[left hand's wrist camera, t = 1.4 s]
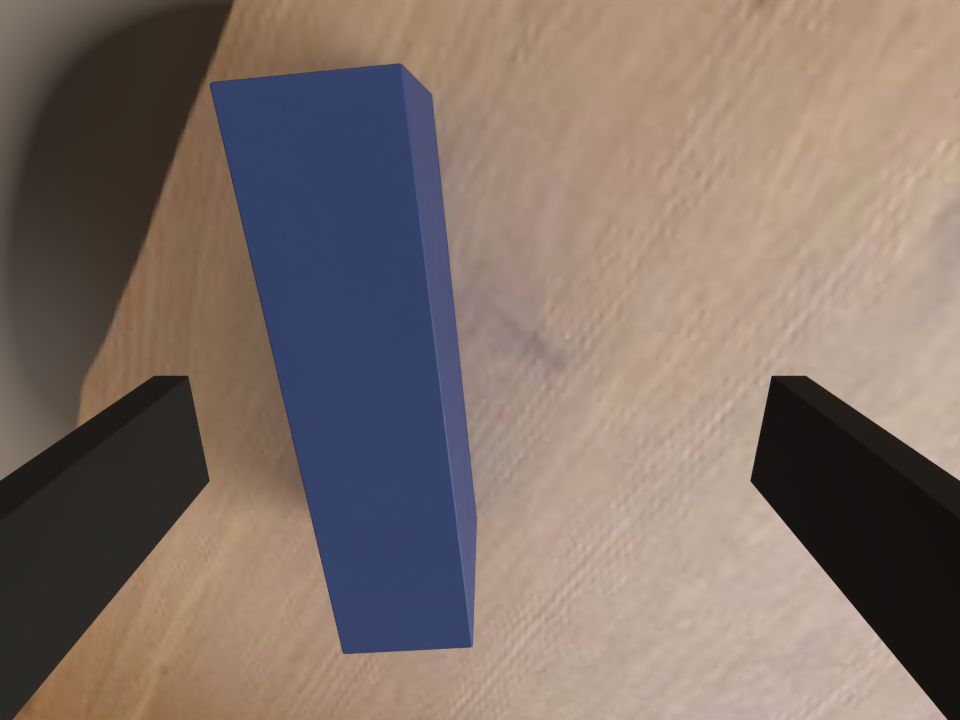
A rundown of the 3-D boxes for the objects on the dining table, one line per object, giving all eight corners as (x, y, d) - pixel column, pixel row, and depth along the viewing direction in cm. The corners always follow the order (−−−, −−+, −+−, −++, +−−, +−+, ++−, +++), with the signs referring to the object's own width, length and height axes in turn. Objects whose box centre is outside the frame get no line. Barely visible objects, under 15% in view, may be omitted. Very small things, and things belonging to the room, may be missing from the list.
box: (302, 105, 26) (207, 82, 17) (431, 93, 26) (402, 62, 17) (379, 526, 35) (342, 655, 26) (476, 520, 35) (472, 648, 26)
